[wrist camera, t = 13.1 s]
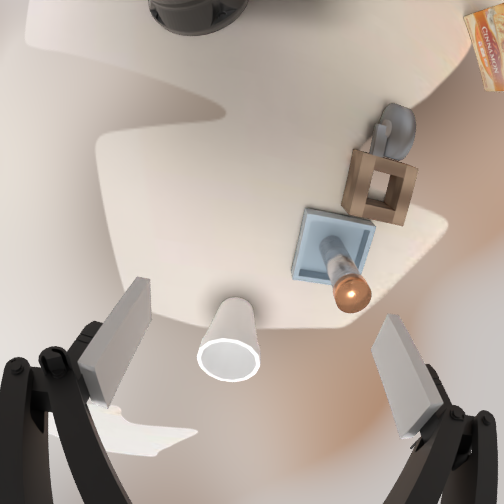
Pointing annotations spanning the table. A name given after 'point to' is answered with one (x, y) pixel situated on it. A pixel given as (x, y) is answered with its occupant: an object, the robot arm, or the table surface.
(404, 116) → the pulley block
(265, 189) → the table surface
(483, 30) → the coffeecake box
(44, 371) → the robot arm
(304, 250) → the tray
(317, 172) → the table surface
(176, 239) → the table surface
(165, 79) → the table surface
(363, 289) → the pin
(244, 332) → the foam cup
